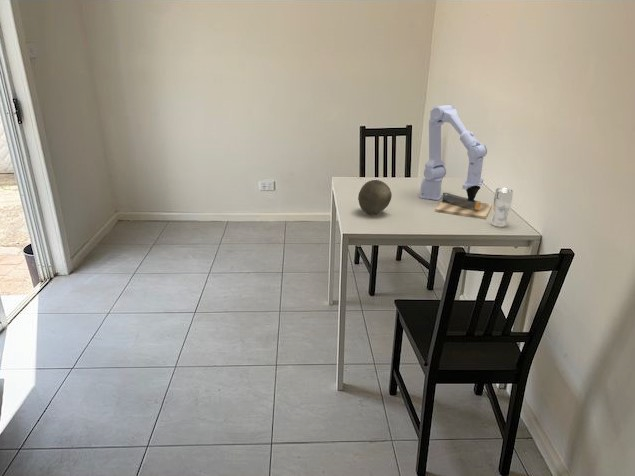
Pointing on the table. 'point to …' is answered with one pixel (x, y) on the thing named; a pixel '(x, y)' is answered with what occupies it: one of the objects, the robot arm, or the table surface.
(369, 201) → the grey ball
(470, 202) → the swing bar
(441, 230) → the table surface
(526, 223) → the table surface
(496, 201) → the beer glass
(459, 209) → the label board
